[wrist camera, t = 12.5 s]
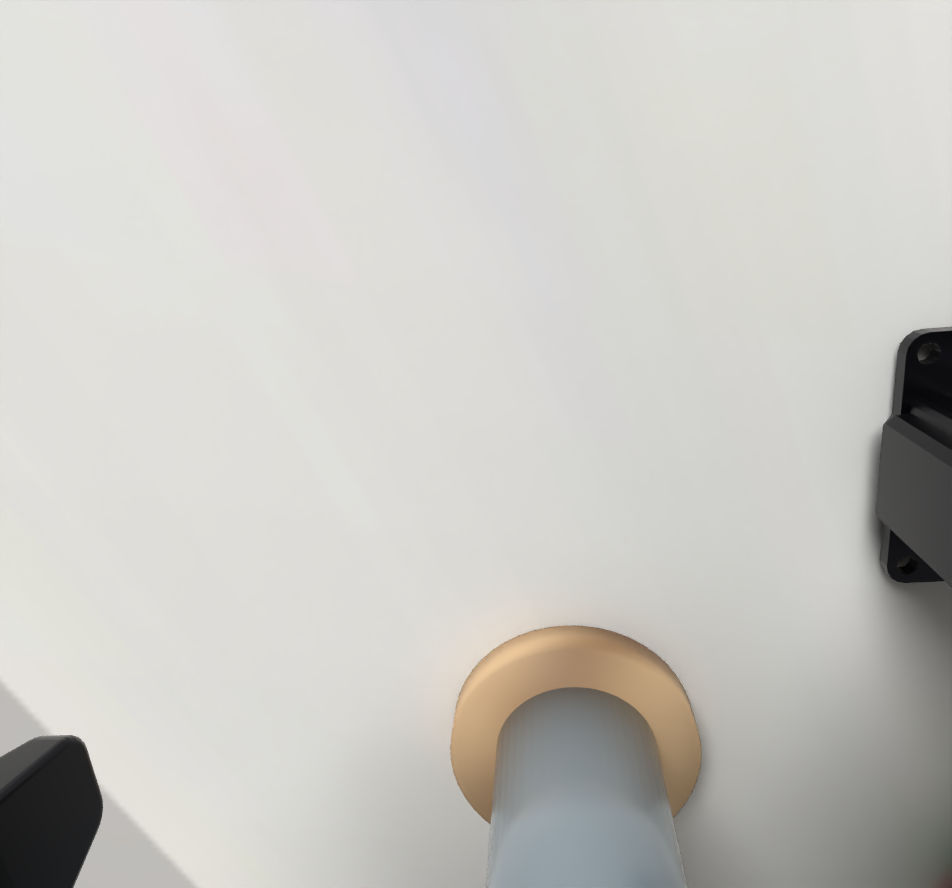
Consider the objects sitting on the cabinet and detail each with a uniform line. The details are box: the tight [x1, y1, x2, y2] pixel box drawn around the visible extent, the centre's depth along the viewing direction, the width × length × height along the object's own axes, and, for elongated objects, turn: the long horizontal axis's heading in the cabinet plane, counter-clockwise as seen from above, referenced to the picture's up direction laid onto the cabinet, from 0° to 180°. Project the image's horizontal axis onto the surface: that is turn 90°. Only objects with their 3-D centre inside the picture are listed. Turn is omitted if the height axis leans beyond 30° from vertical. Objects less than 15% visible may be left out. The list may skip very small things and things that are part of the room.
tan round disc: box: [450, 626, 701, 824], centre depth 21 cm, size 7×7×1 cm
